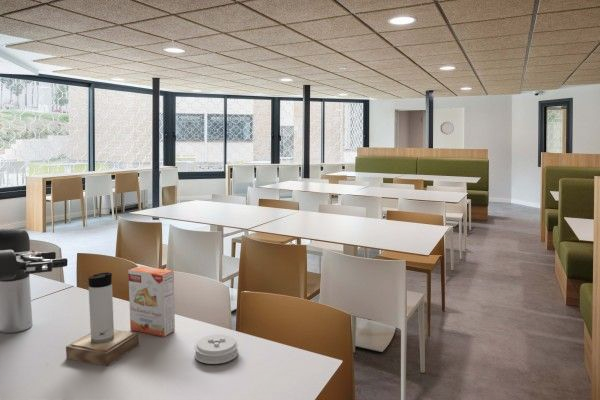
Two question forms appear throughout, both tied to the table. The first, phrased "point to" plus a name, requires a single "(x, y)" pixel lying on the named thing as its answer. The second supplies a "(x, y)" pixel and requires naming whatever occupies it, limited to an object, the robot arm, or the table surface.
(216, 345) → the lid
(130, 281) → the cracker box
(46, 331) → the table surface
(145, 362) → the table surface
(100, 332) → the travel mug
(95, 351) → the walnut riser
